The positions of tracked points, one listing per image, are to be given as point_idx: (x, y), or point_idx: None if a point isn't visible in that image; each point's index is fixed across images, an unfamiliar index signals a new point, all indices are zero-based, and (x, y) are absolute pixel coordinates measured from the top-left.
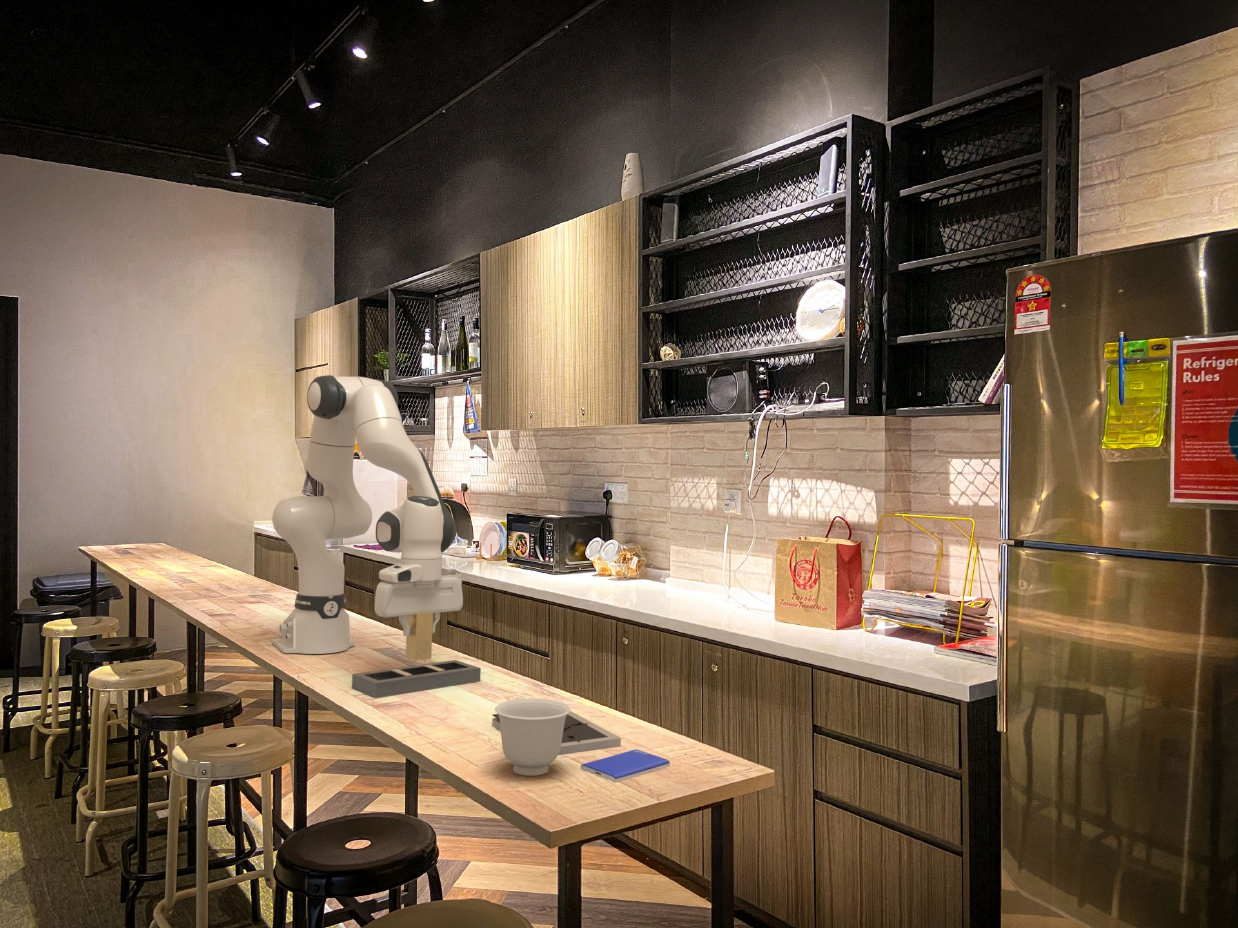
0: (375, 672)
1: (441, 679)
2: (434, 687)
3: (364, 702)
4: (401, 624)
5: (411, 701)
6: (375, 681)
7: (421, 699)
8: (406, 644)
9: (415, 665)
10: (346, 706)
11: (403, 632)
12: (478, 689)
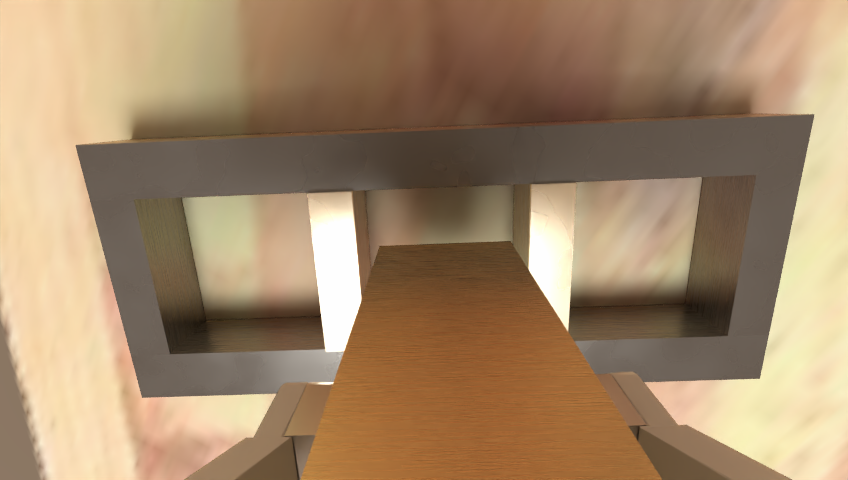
0: (213, 181)
1: None
2: None
3: (121, 394)
4: (207, 468)
5: None
6: (150, 367)
7: None
8: (369, 284)
9: (504, 132)
10: (43, 410)
11: (277, 401)
12: None
